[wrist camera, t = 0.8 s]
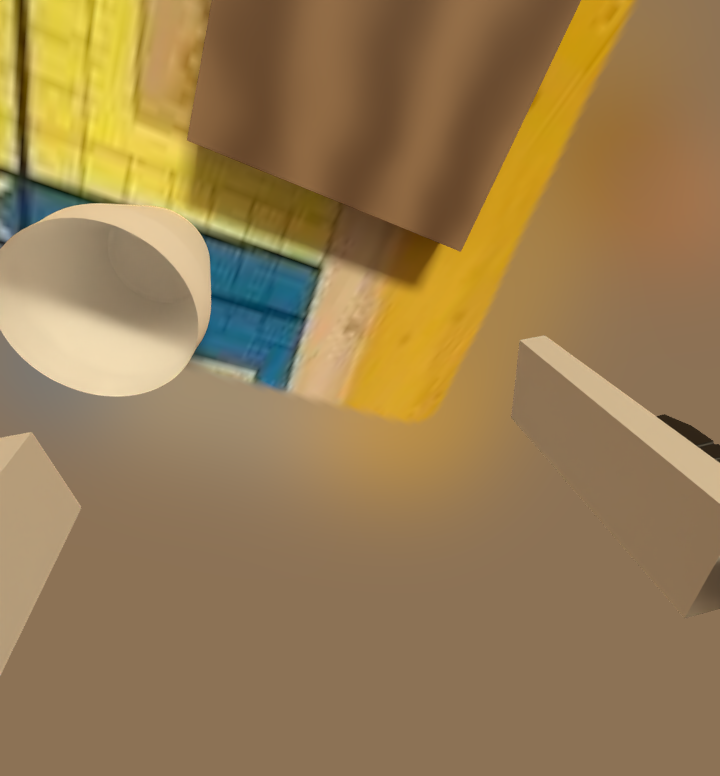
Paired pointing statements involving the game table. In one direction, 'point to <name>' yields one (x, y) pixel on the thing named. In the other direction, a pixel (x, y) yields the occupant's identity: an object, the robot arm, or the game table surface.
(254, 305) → the game table surface
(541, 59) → the walnut base
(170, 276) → the cup
